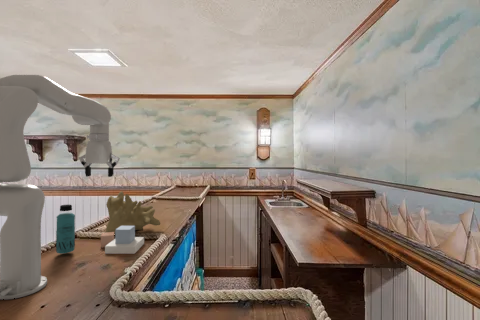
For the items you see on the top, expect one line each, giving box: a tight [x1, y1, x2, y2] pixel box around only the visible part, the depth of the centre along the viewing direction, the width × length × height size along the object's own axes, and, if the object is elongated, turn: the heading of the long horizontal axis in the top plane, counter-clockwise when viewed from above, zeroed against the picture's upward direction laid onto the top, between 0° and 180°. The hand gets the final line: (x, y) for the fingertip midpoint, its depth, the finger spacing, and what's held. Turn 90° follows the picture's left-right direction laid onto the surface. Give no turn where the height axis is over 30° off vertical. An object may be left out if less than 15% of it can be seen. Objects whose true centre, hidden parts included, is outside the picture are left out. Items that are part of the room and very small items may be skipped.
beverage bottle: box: [55, 204, 76, 255], centre depth 107 cm, size 6×7×20 cm
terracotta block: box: [100, 232, 115, 248], centre depth 119 cm, size 5×5×5 cm
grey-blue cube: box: [114, 226, 136, 244], centre depth 115 cm, size 6×6×6 cm
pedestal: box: [104, 236, 145, 255], centre depth 115 cm, size 12×12×3 cm
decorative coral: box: [105, 190, 161, 234], centre depth 138 cm, size 26×22×25 cm
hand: (99, 176), depth 120 cm, fingers open, 9 cm apart
